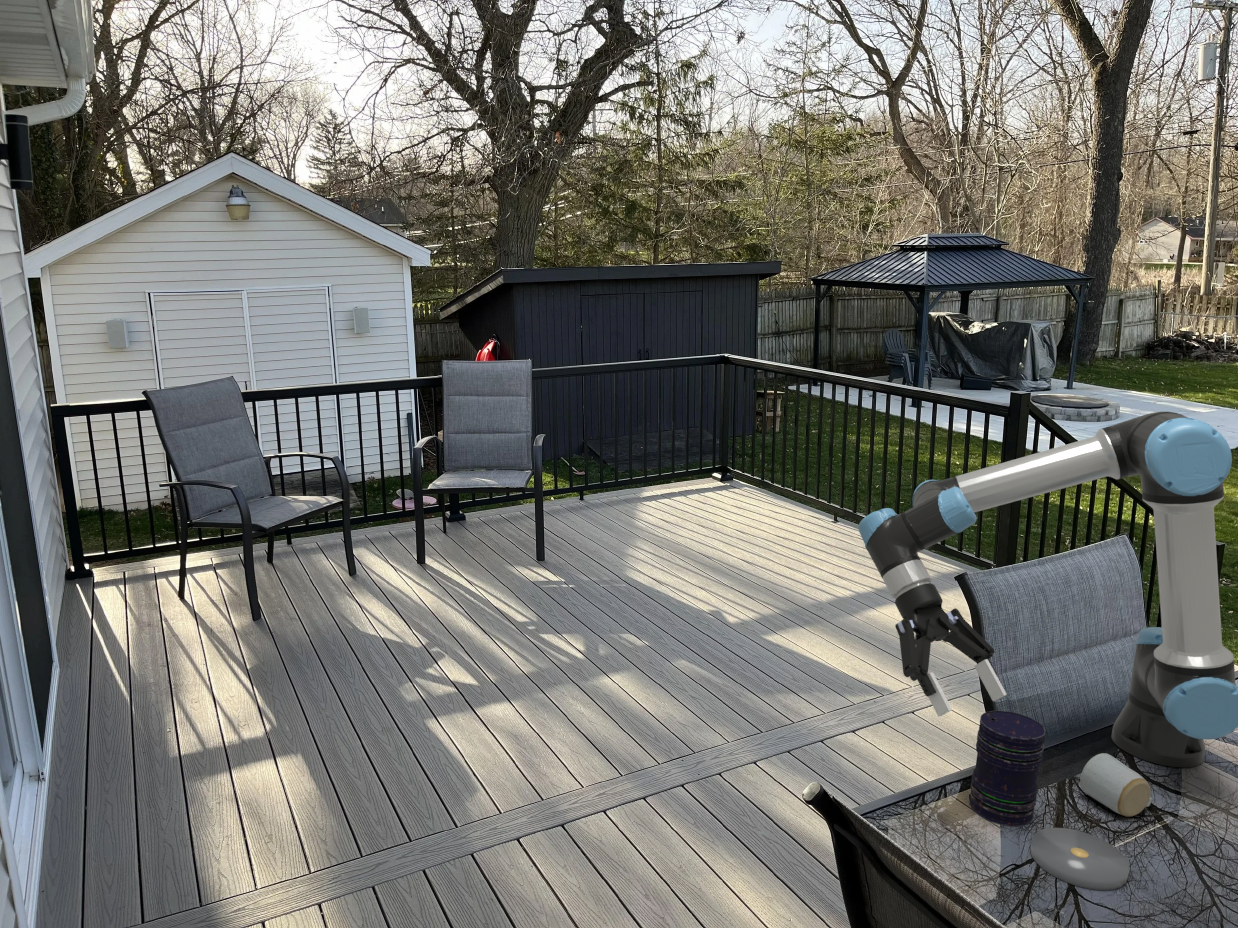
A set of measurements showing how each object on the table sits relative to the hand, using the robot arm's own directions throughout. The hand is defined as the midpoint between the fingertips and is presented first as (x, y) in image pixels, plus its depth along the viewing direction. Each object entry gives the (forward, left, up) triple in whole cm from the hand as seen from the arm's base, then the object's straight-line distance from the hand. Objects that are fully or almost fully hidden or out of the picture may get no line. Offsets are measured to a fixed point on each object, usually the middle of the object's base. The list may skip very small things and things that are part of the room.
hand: (973, 705), depth 152 cm
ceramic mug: (-24, -8, -16) cm, 29 cm away
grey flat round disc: (-17, +13, -15) cm, 27 cm away
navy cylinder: (-6, +3, -15) cm, 17 cm away
